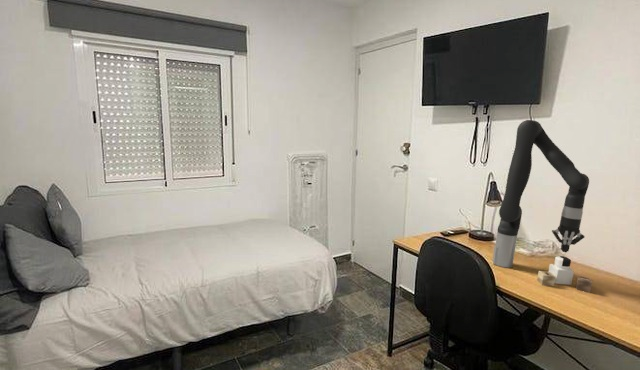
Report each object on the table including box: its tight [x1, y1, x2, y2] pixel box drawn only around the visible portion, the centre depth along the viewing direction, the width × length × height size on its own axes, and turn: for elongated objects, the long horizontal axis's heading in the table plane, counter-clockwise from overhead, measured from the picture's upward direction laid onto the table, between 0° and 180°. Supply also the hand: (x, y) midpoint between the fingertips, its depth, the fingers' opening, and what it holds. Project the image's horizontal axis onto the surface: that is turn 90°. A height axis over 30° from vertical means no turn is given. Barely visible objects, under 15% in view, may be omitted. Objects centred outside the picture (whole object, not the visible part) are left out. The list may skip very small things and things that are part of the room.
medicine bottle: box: [547, 255, 574, 286], centre depth 160 cm, size 7×7×12 cm
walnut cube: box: [575, 275, 593, 294], centre depth 153 cm, size 5×5×5 cm
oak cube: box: [536, 270, 555, 287], centre depth 158 cm, size 5×5×5 cm
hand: (564, 251), depth 159 cm, fingers closed
